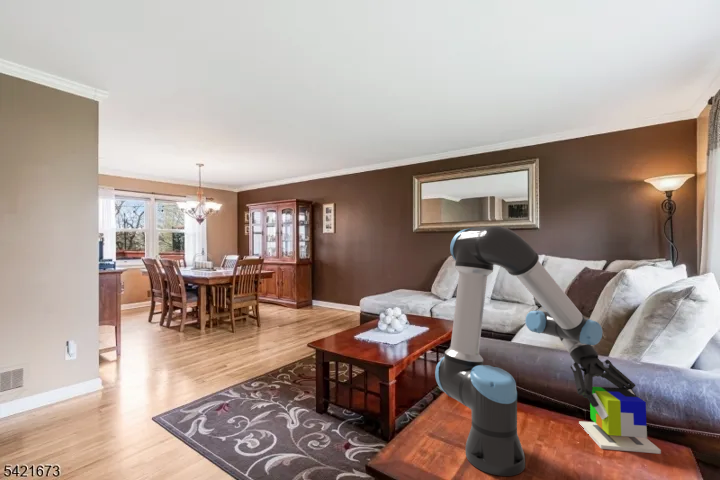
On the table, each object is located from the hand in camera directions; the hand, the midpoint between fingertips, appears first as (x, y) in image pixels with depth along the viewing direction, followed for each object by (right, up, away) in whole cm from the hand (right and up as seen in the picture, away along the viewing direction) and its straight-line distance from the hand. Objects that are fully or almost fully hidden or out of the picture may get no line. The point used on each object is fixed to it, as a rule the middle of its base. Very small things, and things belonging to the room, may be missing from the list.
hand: (624, 415), depth 102 cm
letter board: (-1, -8, +2) cm, 8 cm away
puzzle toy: (-1, -5, +2) cm, 5 cm away
